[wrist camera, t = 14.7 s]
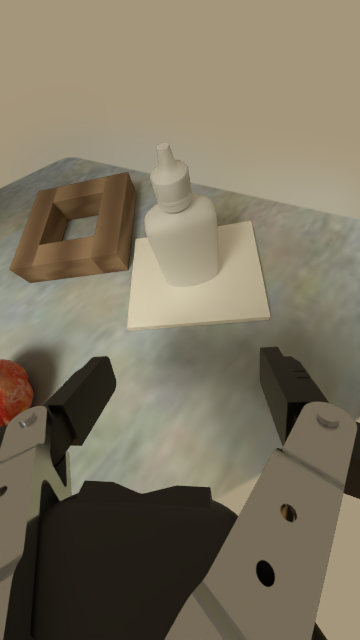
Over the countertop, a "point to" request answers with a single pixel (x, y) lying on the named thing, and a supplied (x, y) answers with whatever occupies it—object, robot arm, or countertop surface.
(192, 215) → the eye dropper bottle
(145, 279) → the off-white tile
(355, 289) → the countertop surface
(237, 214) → the countertop surface
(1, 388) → the pomegranate
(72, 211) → the walnut socket stand
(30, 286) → the countertop surface
